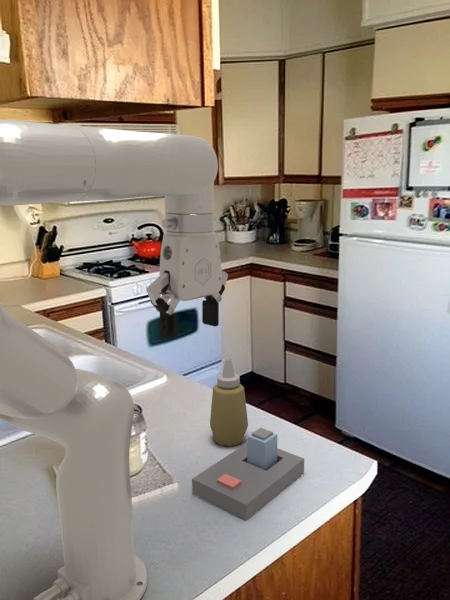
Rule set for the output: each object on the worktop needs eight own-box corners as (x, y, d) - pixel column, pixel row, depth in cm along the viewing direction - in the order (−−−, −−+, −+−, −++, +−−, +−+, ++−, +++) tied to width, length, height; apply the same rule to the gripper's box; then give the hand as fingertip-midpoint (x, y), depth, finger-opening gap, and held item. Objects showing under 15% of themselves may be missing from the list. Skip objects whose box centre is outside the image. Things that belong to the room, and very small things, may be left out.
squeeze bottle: (215, 452, 112) (213, 369, 107) (206, 433, 120) (204, 355, 115) (253, 446, 114) (253, 364, 110) (241, 428, 122) (241, 351, 117)
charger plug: (264, 482, 102) (264, 440, 100) (247, 474, 104) (247, 433, 102) (277, 472, 105) (277, 431, 102) (259, 465, 107) (260, 425, 105)
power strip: (246, 520, 91) (246, 501, 90) (192, 493, 98) (191, 475, 97) (303, 472, 104) (304, 455, 103) (252, 452, 112) (252, 436, 111)
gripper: (165, 230, 77) (167, 347, 81) (243, 222, 90) (241, 324, 94) (130, 226, 82) (133, 337, 86) (209, 220, 95) (208, 317, 98)
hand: (190, 330), depth 90 cm, fingers open, 9 cm apart
